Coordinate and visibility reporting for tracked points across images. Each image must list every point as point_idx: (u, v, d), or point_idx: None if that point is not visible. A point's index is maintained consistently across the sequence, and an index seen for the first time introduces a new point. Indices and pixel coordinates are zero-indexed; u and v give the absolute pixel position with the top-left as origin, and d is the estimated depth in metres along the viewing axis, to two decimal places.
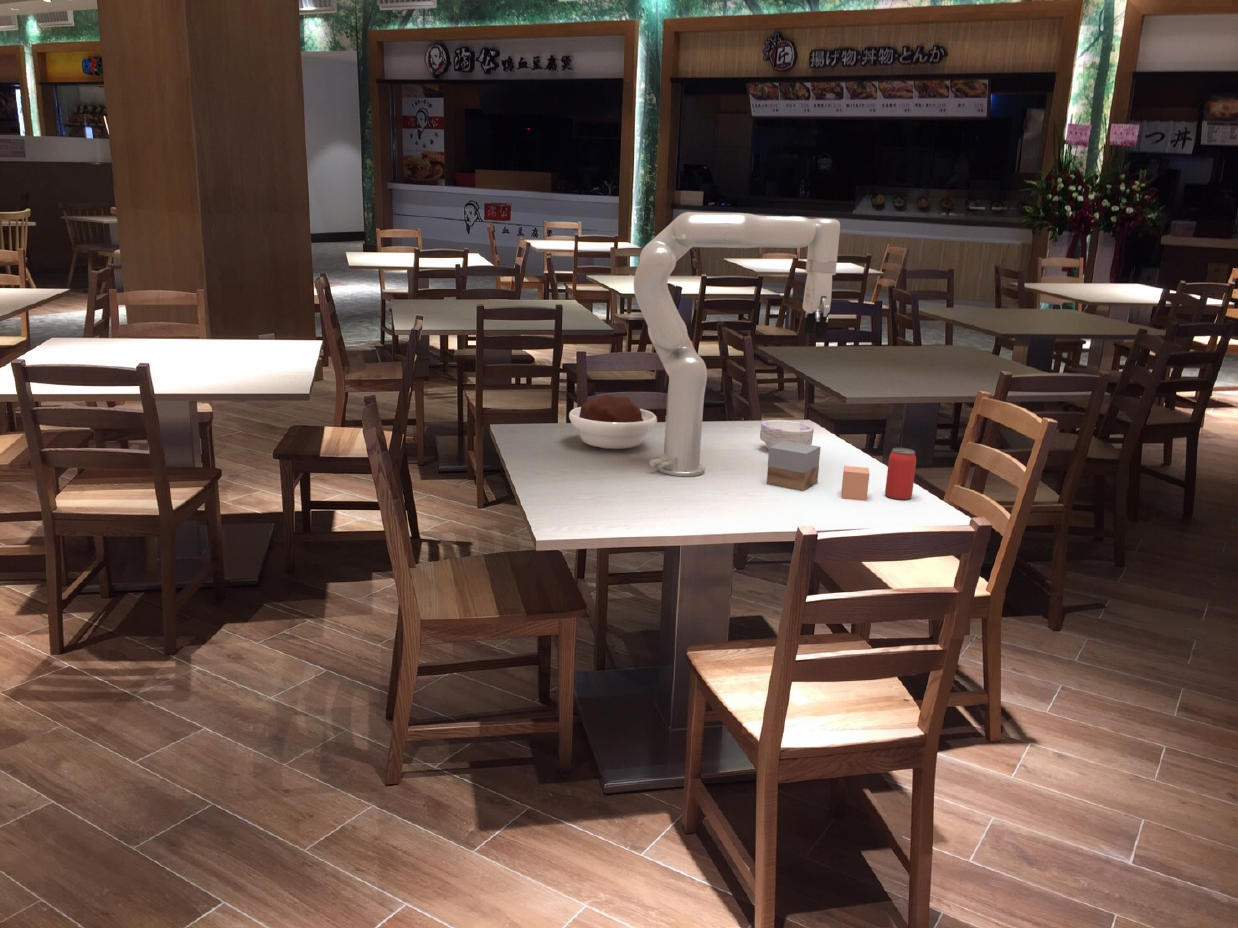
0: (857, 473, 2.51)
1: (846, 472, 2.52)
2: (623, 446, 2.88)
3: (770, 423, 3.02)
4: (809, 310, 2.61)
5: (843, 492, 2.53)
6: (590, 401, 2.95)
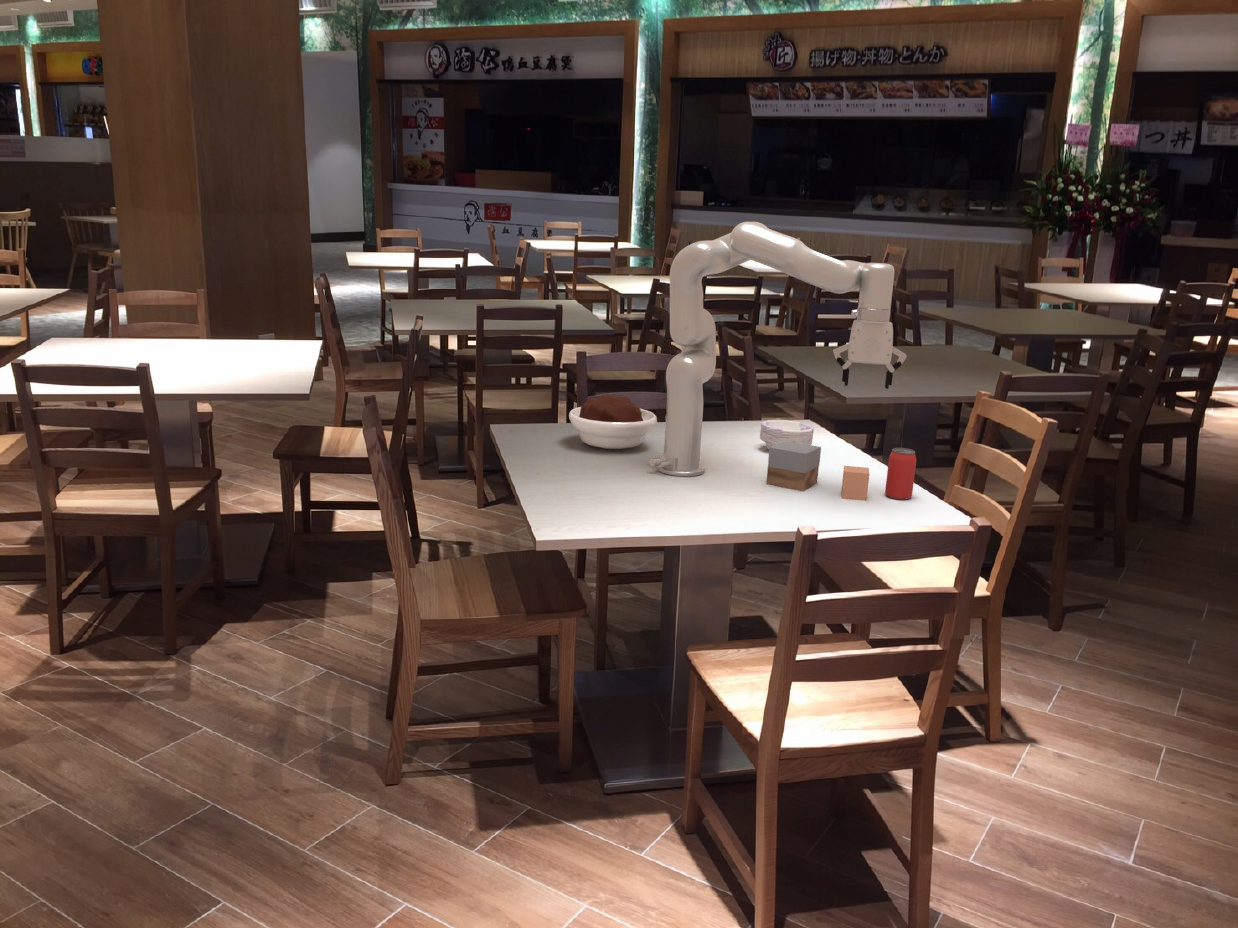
0: (857, 473, 2.51)
1: (846, 472, 2.52)
2: (623, 446, 2.88)
3: (770, 423, 3.02)
4: (882, 362, 2.44)
5: (843, 492, 2.53)
6: (590, 401, 2.95)
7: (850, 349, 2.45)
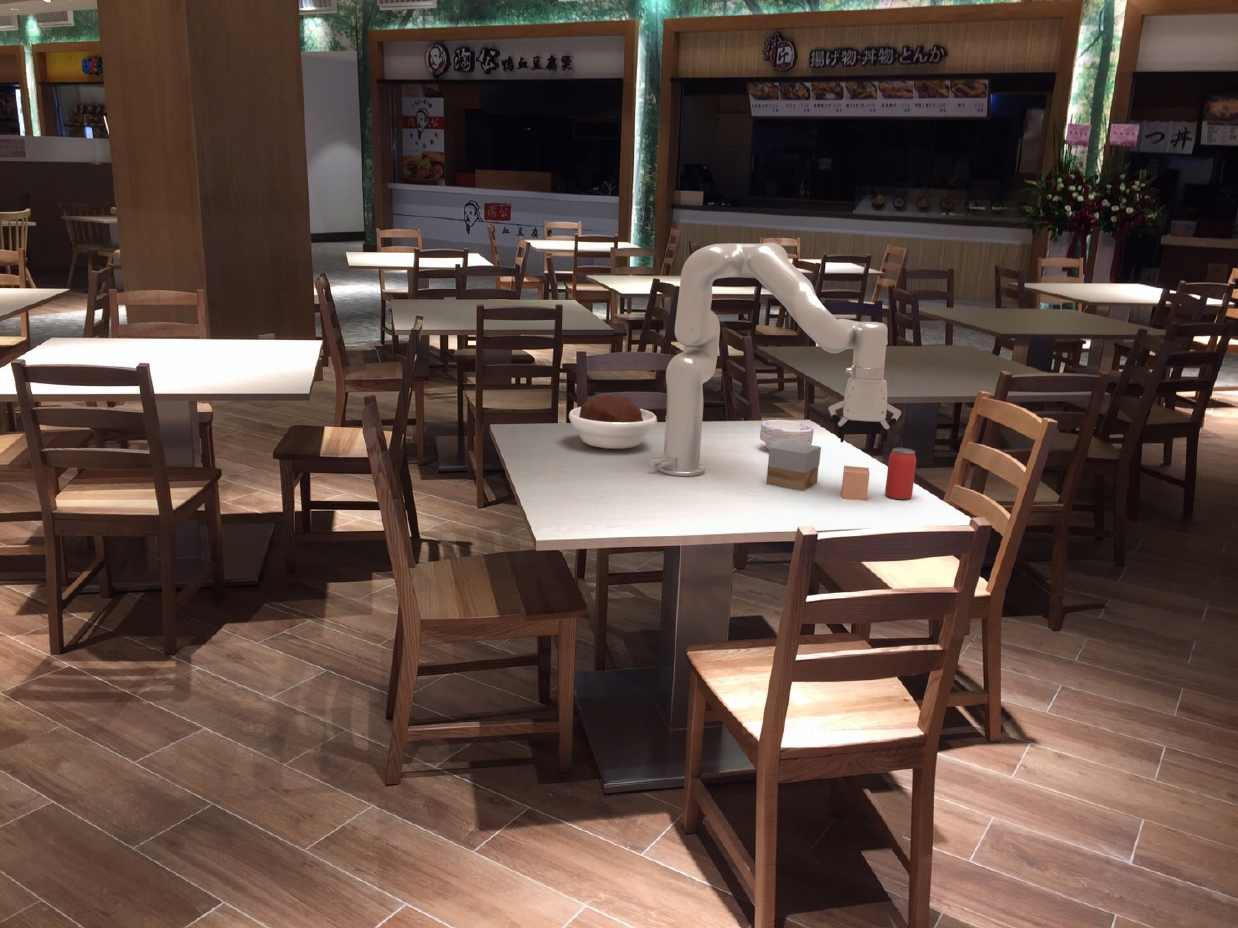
0: (857, 473, 2.51)
1: (846, 472, 2.52)
2: (623, 446, 2.88)
3: (769, 423, 3.02)
4: (876, 419, 2.47)
5: (843, 492, 2.53)
6: (590, 401, 2.95)
7: (845, 407, 2.49)
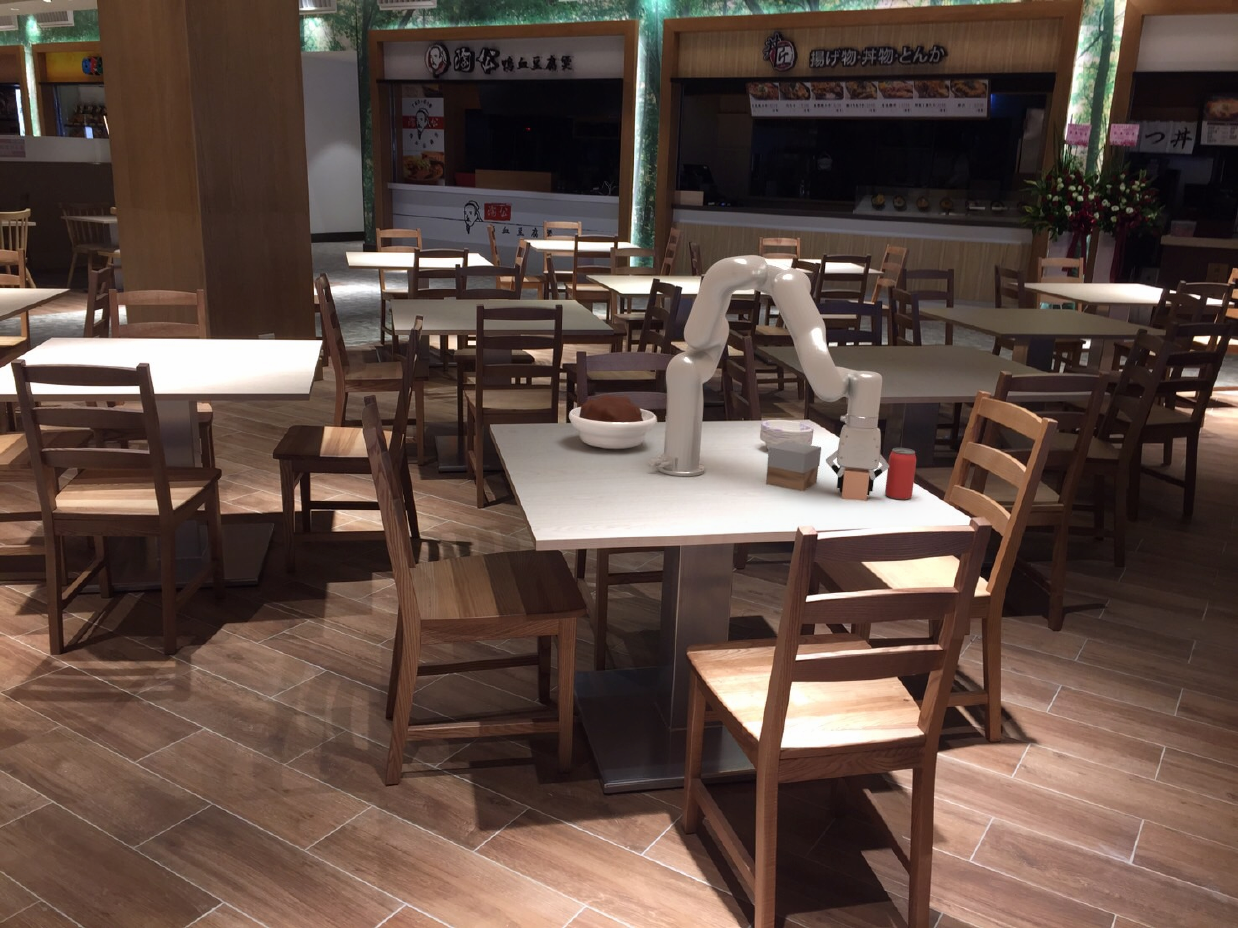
0: (857, 473, 2.51)
1: (846, 472, 2.52)
2: (623, 446, 2.88)
3: (769, 423, 3.02)
4: (869, 467, 2.51)
5: (843, 492, 2.53)
6: (590, 401, 2.95)
7: (839, 454, 2.52)
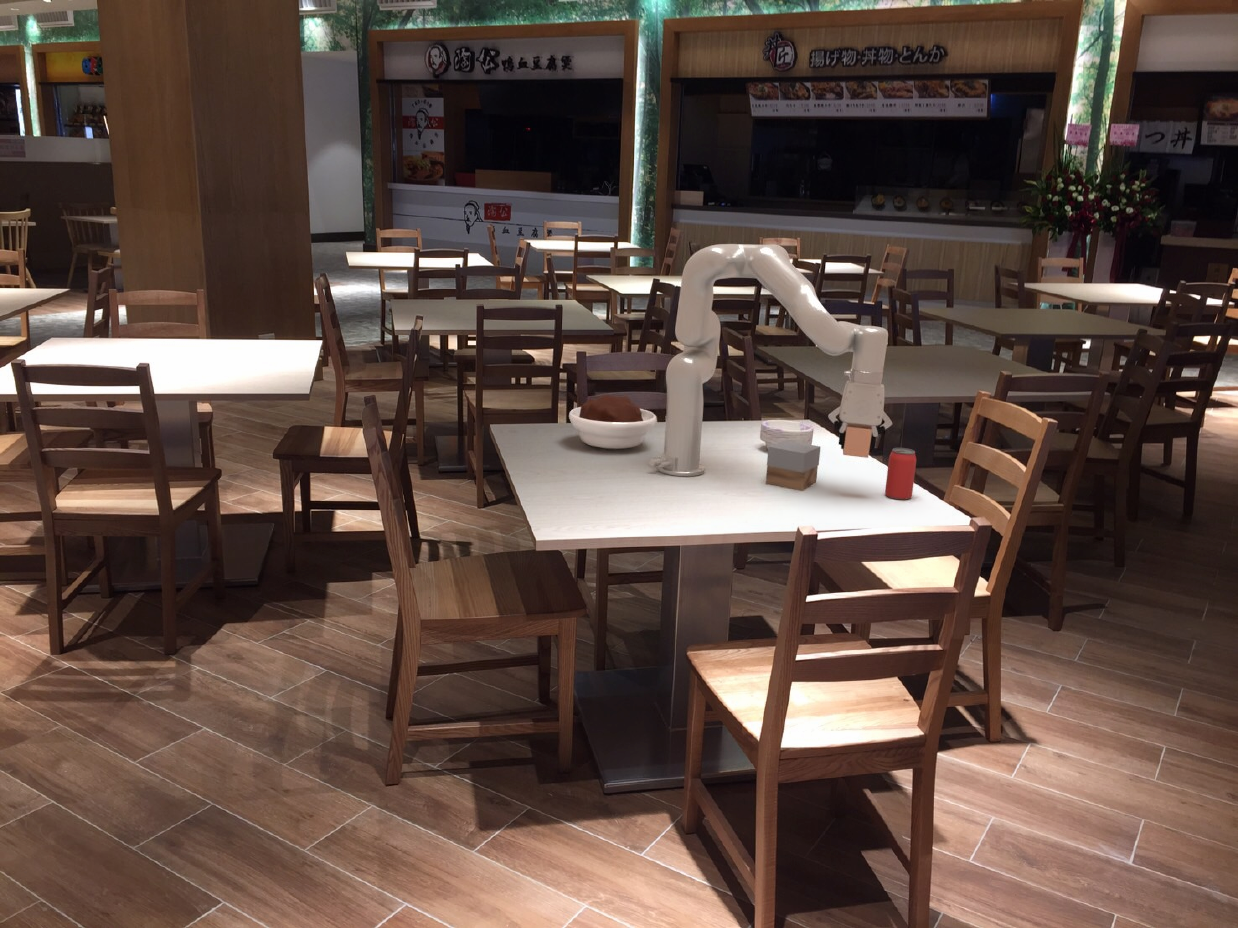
0: (860, 429, 2.49)
1: (848, 428, 2.49)
2: (623, 446, 2.88)
3: (769, 423, 3.02)
4: (872, 423, 2.48)
5: (845, 448, 2.51)
6: (590, 401, 2.95)
7: (842, 409, 2.49)
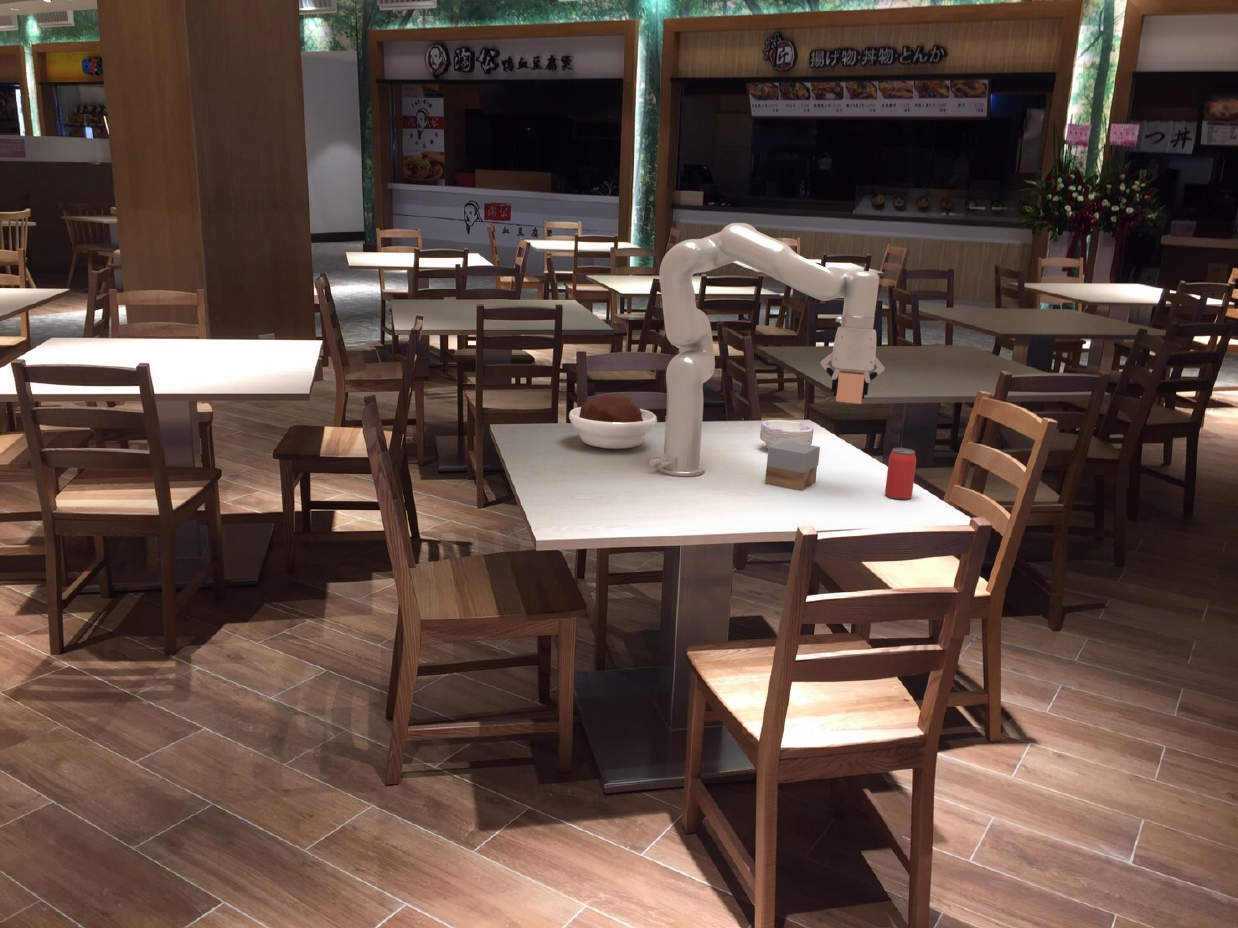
0: (852, 375, 2.47)
1: (841, 374, 2.48)
2: (623, 446, 2.88)
3: (769, 423, 3.02)
4: (865, 369, 2.47)
5: (837, 394, 2.49)
6: (590, 401, 2.95)
7: (834, 355, 2.48)
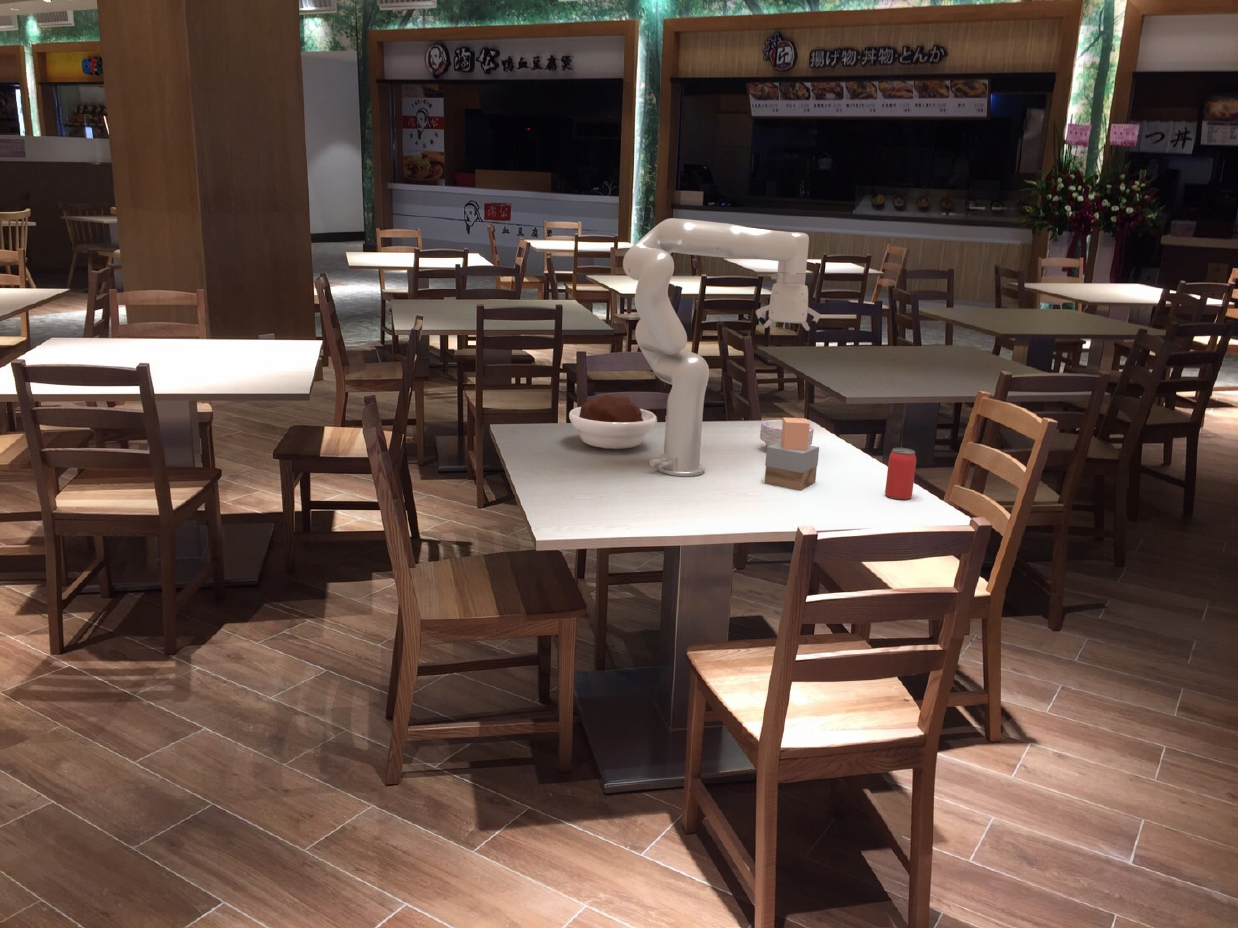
0: (798, 423, 2.58)
1: (787, 423, 2.58)
2: (623, 446, 2.88)
3: (770, 423, 3.02)
4: (798, 320, 2.73)
5: (785, 443, 2.59)
6: (590, 401, 2.95)
7: (770, 309, 2.74)
